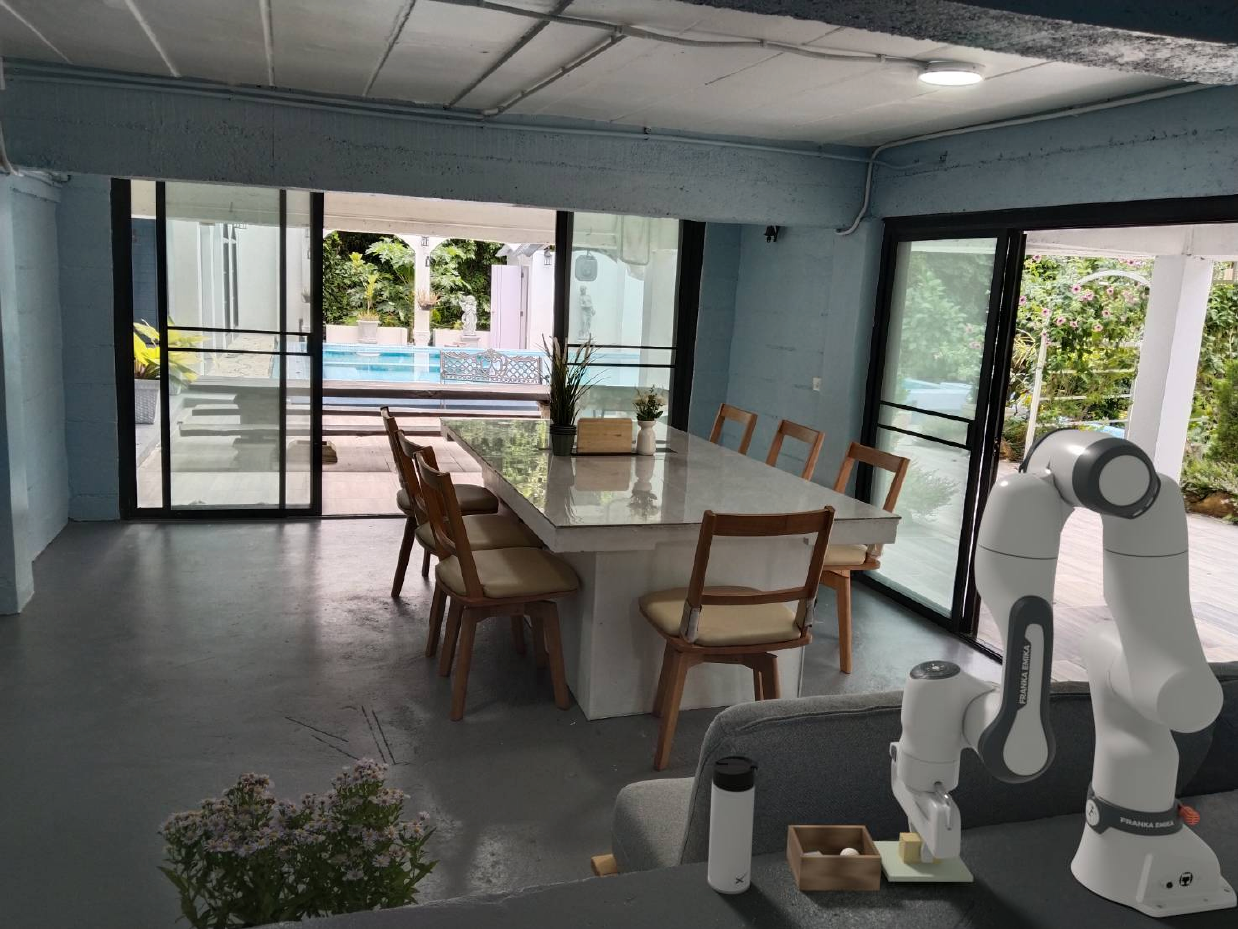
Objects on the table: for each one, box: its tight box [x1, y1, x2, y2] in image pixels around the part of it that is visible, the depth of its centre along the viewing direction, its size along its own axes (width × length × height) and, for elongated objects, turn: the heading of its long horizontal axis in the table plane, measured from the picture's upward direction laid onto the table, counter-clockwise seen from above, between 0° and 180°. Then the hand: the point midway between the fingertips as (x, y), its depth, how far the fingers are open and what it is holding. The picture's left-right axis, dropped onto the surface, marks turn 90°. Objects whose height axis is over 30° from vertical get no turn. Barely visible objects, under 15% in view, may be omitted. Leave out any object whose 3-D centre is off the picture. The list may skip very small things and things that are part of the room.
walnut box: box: [786, 824, 882, 891], centre depth 148 cm, size 12×9×6 cm
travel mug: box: [707, 755, 759, 895], centre depth 144 cm, size 6×7×20 cm
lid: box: [873, 832, 974, 883], centre depth 148 cm, size 13×10×5 cm
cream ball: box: [840, 848, 859, 855], centre depth 149 cm, size 3×3×3 cm
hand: (921, 853), depth 148 cm, fingers closed on lid, 2 cm apart
